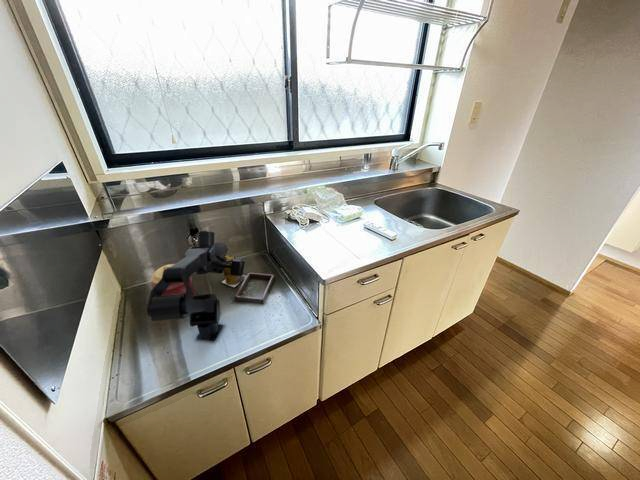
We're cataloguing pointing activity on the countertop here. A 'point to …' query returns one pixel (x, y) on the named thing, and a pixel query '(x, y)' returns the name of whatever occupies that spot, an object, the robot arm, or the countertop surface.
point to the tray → (254, 299)
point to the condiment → (229, 278)
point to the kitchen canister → (173, 287)
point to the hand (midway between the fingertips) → (228, 269)
